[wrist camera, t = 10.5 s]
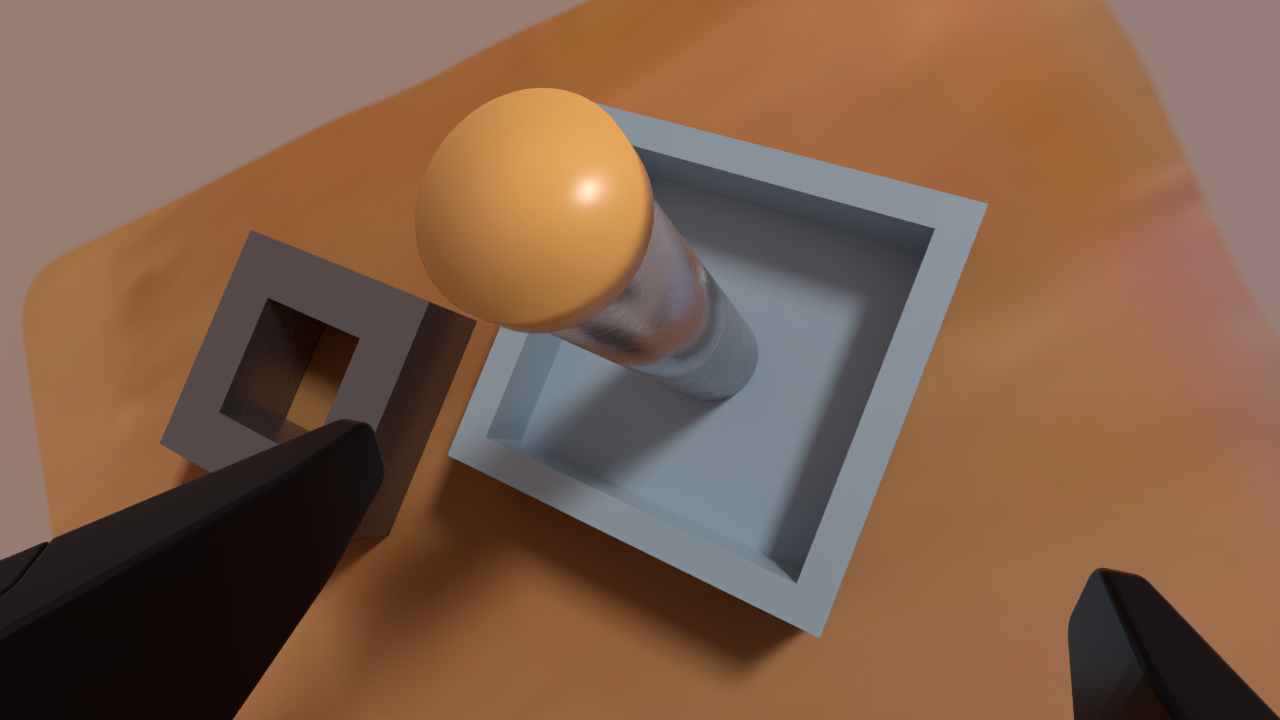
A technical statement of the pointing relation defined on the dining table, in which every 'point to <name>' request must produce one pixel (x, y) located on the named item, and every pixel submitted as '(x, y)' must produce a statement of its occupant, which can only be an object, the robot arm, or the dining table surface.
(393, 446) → the pin collar
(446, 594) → the dining table surface
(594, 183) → the pin
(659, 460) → the tray
